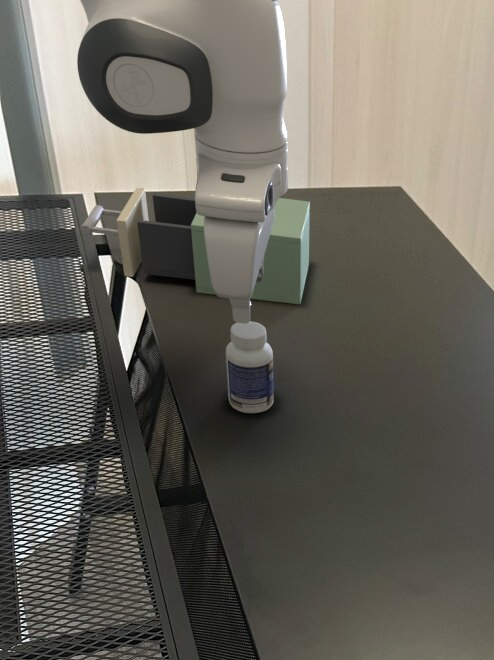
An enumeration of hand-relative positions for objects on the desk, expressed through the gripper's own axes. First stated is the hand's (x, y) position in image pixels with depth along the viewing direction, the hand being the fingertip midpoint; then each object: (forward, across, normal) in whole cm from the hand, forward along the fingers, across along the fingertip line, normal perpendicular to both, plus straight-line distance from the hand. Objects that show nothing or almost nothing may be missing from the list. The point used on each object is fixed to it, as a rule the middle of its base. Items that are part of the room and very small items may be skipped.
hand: (248, 299), depth 94 cm
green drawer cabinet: (+13, -32, -4) cm, 35 cm away
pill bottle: (+14, 0, 0) cm, 14 cm away
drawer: (+12, -32, -18) cm, 39 cm away
